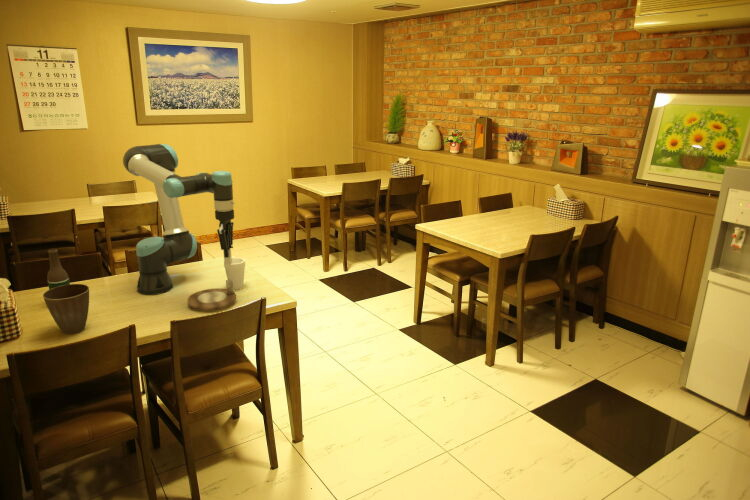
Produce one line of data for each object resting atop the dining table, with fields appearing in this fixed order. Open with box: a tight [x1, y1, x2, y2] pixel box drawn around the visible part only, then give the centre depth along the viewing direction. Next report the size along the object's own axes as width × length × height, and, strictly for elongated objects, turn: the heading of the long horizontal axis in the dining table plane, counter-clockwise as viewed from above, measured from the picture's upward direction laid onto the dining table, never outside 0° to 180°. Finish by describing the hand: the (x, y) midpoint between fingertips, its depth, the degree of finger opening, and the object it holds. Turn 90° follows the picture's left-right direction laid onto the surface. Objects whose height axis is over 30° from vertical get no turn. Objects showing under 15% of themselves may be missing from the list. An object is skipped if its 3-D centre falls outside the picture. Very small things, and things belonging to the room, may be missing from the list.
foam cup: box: [223, 257, 246, 291], centre depth 237 cm, size 10×9×13 cm
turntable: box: [187, 279, 237, 311], centre depth 219 cm, size 20×20×8 cm
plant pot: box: [42, 283, 90, 335], centre depth 193 cm, size 15×15×16 cm
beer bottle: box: [46, 248, 71, 290], centre depth 215 cm, size 8×8×24 cm
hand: (228, 263), depth 217 cm, fingers closed
